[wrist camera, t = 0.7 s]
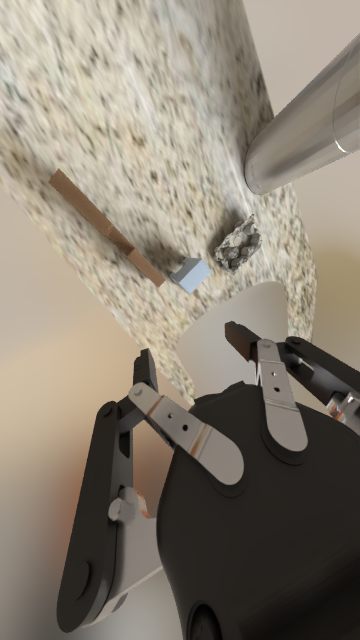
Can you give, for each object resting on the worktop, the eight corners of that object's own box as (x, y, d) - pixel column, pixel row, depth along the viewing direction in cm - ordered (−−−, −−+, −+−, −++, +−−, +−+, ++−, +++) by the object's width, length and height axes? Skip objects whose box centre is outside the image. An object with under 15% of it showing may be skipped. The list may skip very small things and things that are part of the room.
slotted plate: (80, 191, 22) (58, 168, 16) (160, 274, 31) (165, 279, 25) (72, 201, 22) (48, 182, 16) (154, 281, 31) (158, 287, 25)
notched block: (185, 257, 31) (202, 258, 23) (193, 267, 32) (211, 272, 24) (168, 275, 31) (178, 282, 24) (177, 284, 33) (189, 294, 25)
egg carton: (241, 215, 30) (255, 210, 27) (255, 243, 34) (268, 241, 31) (207, 252, 32) (216, 251, 28) (224, 275, 35) (234, 277, 32)
